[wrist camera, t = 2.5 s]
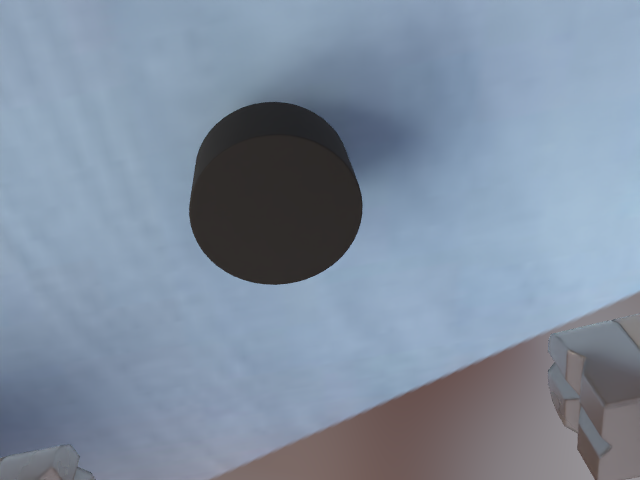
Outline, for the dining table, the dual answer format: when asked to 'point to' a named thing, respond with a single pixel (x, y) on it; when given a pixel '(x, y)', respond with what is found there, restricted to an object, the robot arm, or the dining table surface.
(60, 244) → the dining table surface
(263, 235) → the cylinder
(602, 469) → the robot arm
